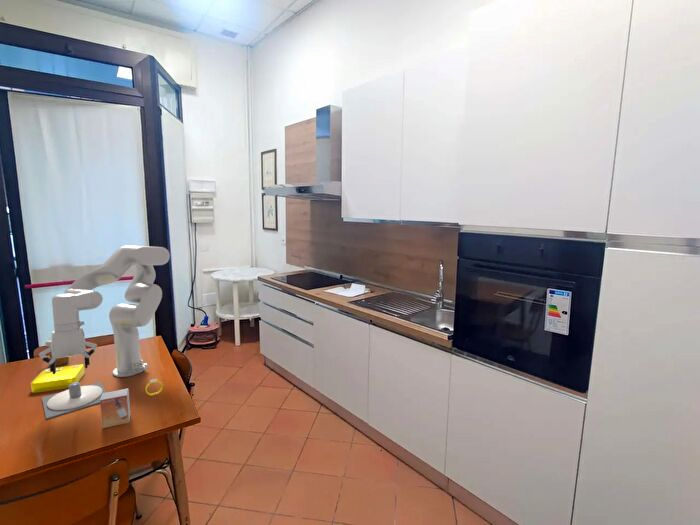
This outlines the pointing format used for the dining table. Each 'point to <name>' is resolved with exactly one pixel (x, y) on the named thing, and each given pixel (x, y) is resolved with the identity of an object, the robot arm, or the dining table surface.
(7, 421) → the dining table surface
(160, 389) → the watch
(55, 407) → the lid
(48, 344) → the disposable coffee cup
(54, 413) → the mat
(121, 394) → the small box
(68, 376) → the element tile
